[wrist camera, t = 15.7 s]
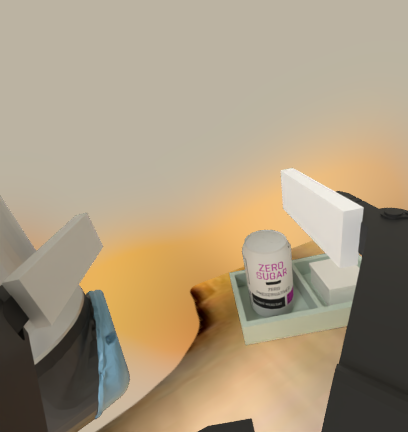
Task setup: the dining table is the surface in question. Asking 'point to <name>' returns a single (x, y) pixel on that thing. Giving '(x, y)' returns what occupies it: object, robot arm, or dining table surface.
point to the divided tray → (301, 313)
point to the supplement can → (269, 272)
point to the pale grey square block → (334, 281)
